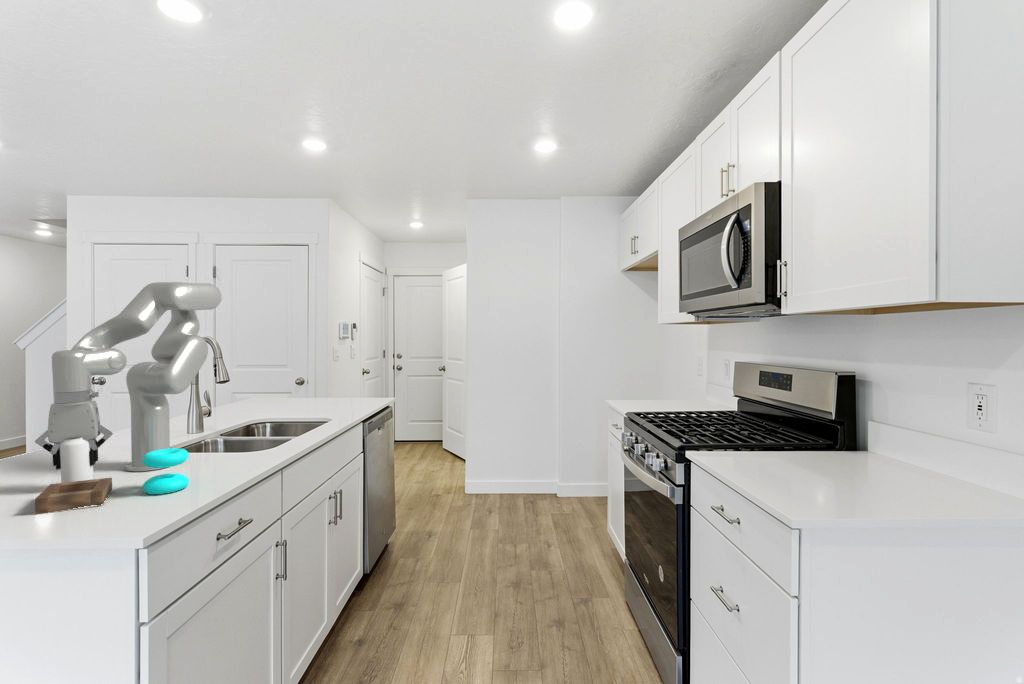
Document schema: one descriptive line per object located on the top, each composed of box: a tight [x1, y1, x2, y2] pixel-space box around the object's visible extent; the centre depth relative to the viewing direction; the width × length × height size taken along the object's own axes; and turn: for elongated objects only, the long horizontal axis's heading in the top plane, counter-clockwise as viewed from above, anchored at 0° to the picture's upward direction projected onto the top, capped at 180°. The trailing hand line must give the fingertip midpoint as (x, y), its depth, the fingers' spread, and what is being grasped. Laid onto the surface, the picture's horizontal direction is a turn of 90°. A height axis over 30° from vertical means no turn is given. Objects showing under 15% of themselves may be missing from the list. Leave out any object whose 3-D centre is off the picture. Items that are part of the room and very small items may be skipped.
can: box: [59, 437, 94, 483], centre depth 135 cm, size 6×6×12 cm
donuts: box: [142, 447, 190, 495], centre depth 134 cm, size 10×10×10 cm
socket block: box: [34, 477, 113, 515], centre depth 124 cm, size 12×13×4 cm
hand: (76, 465), depth 135 cm, fingers closed on can, 6 cm apart
